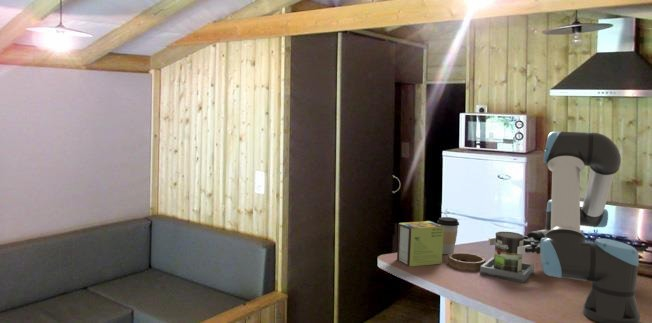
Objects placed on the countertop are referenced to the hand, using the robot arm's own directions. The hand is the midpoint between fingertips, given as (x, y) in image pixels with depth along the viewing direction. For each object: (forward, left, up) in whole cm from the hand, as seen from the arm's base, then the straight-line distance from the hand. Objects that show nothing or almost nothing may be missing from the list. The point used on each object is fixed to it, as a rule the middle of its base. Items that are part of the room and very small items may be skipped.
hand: (503, 246), depth 192 cm
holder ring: (+3, +15, -11) cm, 19 cm away
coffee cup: (+15, +28, -11) cm, 33 cm away
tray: (+3, -1, -11) cm, 11 cm away
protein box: (-5, +32, -11) cm, 34 cm away
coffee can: (+3, -1, -10) cm, 11 cm away
